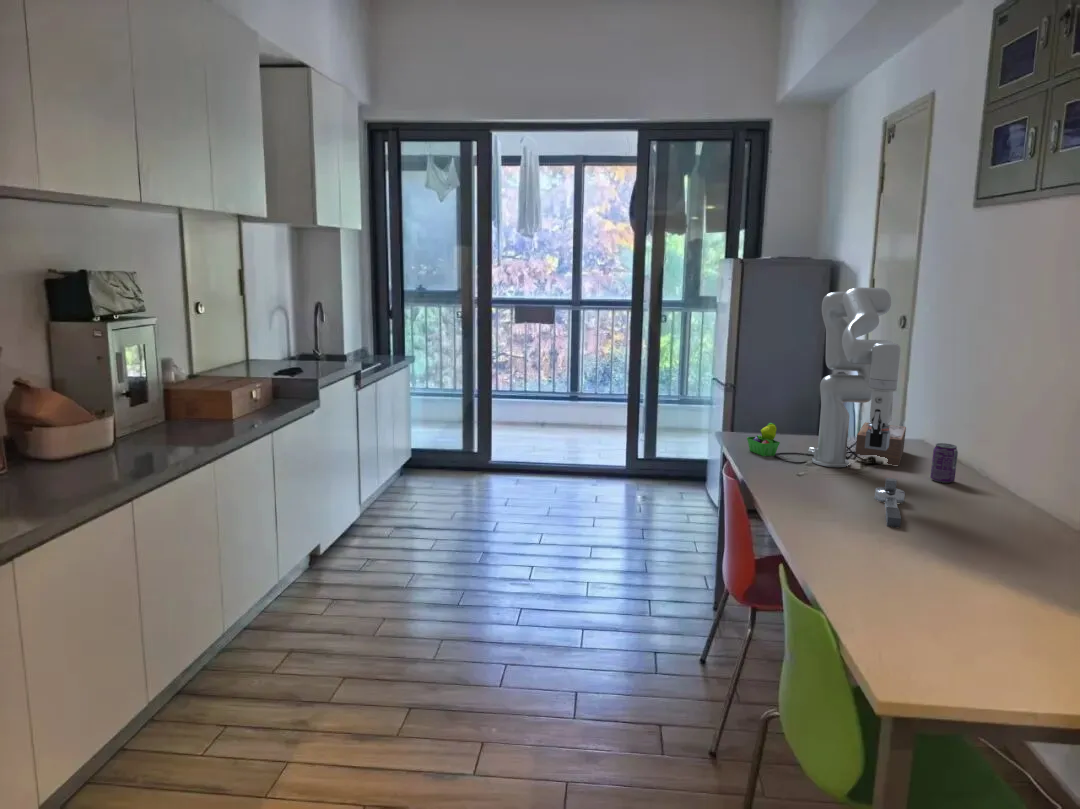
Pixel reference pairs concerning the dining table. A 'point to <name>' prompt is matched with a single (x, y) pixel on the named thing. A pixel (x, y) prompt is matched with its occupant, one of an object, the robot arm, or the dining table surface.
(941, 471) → the beverage can
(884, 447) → the grey domed block
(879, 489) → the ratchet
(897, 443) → the tissue box cover
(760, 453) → the fruit basket
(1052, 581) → the dining table surface
